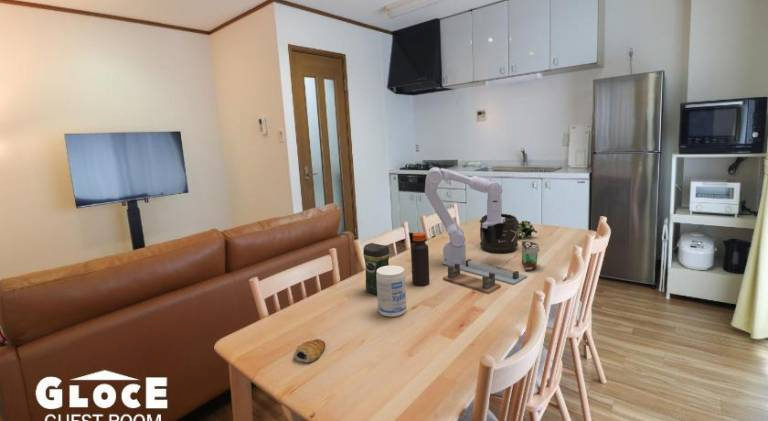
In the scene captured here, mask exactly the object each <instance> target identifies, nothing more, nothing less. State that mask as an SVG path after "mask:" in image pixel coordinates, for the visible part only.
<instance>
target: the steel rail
mask: <svg viewBox="0 0 768 421" xmlns="http://www.w3.org/2000/svg"><path fill="white" fill-rule="evenodd" d="M466 267H470V268H474V269H478V270H482V271H485V272H489V273H490V272H491V273H495V274H497V275H500V276H504V277H508V278H512V279H515V280H516V279H517V278H519V274H520V272H519V271H517V270H512V269H508V268H504V267H501V266H497V265H493V264H488V263H484V262H481V261H476V260H472V259H466Z"/></svg>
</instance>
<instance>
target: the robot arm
mask: <svg viewBox="0 0 768 421" xmlns="http://www.w3.org/2000/svg"><path fill="white" fill-rule="evenodd" d="M450 180H451V181H454V182H458V183H461V184H465V185H468V187H469V188H470V190H474V191H476V192H477V191H478V192H480V193H483V194H487V198H486V215H487V220H486V221H485V222H484V223H482V227H481V230H482V231H483V233H484V235H485V239H486V243H490V244H491V243H492V236H493V232H494V230H495V232H496V239H500V240H501V238H502V235H503V231H504V229H505V227H506V225H507V223H504V222H505V217H501V214H502V193H503V188H502V185H501V184H500V183H499V182H498V181H496V180H493V179H486V178H484V177H482V176H481V175H479V174H477V175H473V176H467V175H465V174H462V173H459V172H456V171H453V170H450V169H447V168H442V167H441V168H440V167H437V166H433V167H431V168H430V169H429V170H428V172H427V174H426V178H425V183H424V184H425V185H424V195H425V197H426V199H427V200H428V201H429V203H430V205H431V207H432V208H433V210H434V211H435V213H436V215H437V216H438V218H439V220H440V221H441V223H442V225H443V226H444V228H445V231H446V233H447V234H448V237H449V242H447V243H445V244H444V246H443V249H442V250H443V251H442V253H443V255H442V256H443V261H442V265H447V266H451V267H453V268H454V264H455V263H457V264H460V267H461V266H464V265H466V260H467V259H466V257H467V255H466V250H467V249H466V248H467V247H466V237H465V234H464V231H463V229H462V228H460V227H459V226H458V224H457V223H456V221H455V220H454V219H453V217H452V215H451V213H450V212H449V211H448V208H447V207H446V205H445V204H444V201H443V200H442V198H441V197H440V195H439V194H438V192H437V190H438V187H439V185H440V184H441V182H442V181H443V182H446V181H450ZM492 225H494V227H495V228H491V226H492Z"/></svg>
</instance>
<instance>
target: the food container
mask: <svg viewBox="0 0 768 421" xmlns="http://www.w3.org/2000/svg"><path fill="white" fill-rule="evenodd" d="M540 249H541V248H540V245H539V244H538V243H537V242H535V241H530V240H521V264H522V267H523V270H524V272H533V271H535V270H536V269H537V262H538V254H539V252H540V251H541V250H540Z"/></svg>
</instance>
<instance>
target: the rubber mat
mask: <svg viewBox="0 0 768 421" xmlns="http://www.w3.org/2000/svg"><path fill="white" fill-rule="evenodd" d="M460 271H463V272H466V273H470V274H473V275H477V276H480V277H482V276H488V277H489V272H485V271H482V270H478V269H474V268H470V267H466V265H464V266H461V267H460ZM527 278H528V275H525V274H521V273H519V278H517V279H516V280H515V279H512V278H508V277H504V276H500V275H497V274H495V281H499V282H502V283H506V284H508V285H512V286H514V285H516V284H518V283H520V282H522V281H523V280H525V279H527Z"/></svg>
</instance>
